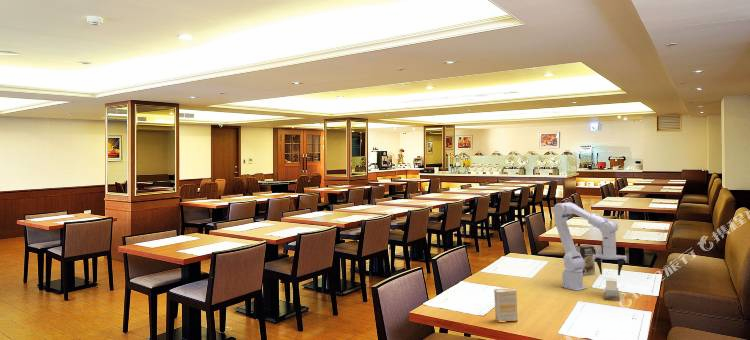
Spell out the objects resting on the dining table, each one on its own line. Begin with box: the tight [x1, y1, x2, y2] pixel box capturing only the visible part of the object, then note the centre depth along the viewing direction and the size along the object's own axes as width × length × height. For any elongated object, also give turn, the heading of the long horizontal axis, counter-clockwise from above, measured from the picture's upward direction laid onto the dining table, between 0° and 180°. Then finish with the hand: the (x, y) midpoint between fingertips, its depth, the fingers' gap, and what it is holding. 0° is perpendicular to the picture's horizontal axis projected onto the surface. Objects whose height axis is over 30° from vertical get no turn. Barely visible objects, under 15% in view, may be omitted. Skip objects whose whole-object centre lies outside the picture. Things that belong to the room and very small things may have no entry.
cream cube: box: [605, 277, 618, 291], centre depth 230 cm, size 4×4×4 cm
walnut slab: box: [602, 292, 621, 302], centre depth 230 cm, size 6×6×2 cm
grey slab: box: [604, 286, 620, 297], centre depth 230 cm, size 6×6×2 cm
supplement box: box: [493, 287, 518, 322], centre depth 204 cm, size 8×5×13 cm, turn 92°
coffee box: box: [575, 244, 596, 276], centre depth 279 cm, size 9×6×16 cm
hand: (609, 274), depth 234 cm, fingers open, 7 cm apart
